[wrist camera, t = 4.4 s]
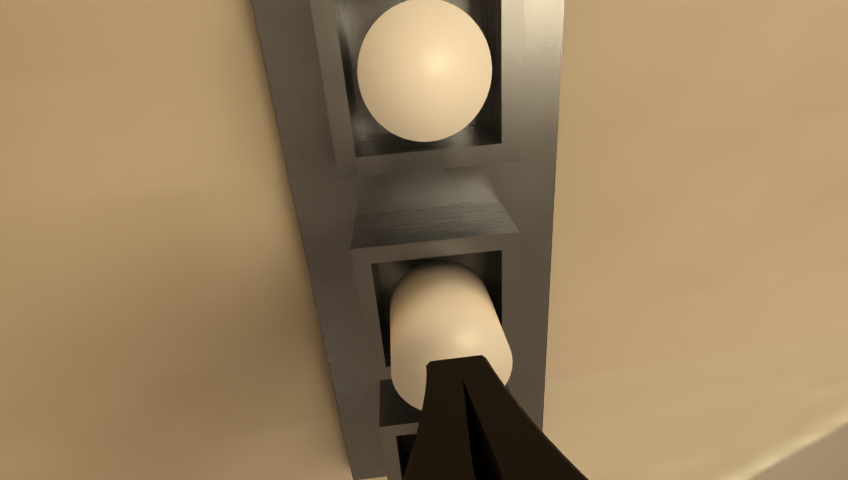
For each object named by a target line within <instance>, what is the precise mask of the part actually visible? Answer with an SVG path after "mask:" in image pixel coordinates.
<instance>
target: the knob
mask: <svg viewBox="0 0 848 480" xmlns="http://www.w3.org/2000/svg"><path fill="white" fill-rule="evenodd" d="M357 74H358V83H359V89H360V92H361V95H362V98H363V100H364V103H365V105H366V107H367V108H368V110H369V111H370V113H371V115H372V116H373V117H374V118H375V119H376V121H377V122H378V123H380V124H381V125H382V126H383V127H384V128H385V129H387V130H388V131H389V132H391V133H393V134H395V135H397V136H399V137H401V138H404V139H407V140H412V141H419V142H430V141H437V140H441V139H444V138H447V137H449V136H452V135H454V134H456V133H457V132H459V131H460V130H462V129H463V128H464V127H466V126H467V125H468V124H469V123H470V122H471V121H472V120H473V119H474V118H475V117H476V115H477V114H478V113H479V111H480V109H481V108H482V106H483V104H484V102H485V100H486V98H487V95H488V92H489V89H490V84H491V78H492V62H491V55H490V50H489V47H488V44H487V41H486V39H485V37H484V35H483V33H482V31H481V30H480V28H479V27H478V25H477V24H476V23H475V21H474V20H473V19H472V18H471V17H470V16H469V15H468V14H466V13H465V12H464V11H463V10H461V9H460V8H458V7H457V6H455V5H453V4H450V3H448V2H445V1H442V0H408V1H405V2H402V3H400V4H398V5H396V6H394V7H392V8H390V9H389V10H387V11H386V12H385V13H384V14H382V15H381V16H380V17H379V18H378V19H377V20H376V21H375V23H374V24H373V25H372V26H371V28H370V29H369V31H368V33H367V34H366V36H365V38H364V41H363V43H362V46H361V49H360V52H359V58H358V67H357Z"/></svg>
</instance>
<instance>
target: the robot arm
mask: <svg viewBox="0 0 848 480" xmlns="http://www.w3.org/2000/svg"><path fill="white" fill-rule="evenodd" d="M403 480H588V479H587V478H586V477H585V476H584V475H583V474H582V473H581V472H580V471H579V470H578V469H577V468H576V467H575V466H574V465H573V464H572V463H571V462H570V461H569V460H568V459H567V458H566V457H565V456H564V455H563V454H562V453H561V452H560V451H559V450H558V448H557V447H556V446H555V445H554V444H553V443H552V442H551V441H550V440H549V439H548V438H547V437H546V436H545V434H544V433H543V432H542V431H541V430H540V429H539V428H538V426H537V425H536V424H535V423H534V422H533V421H532V419H531V418H530V417H529V416H528V414H527V413H526V412H525V411H524V410H523V408H522V407H521V406H520V405H519V404H518V402H517V401H516V400H515V399H514V397H513V396H512V395H511V393H510V392H509V391H508V389H507V388H506V387H505V385H504V384H503V382H502V381H501V380H500V378H499V377H498V375H497V374H496V372H495V371H494V369H493V368H492V366H491V365H490V363H489V361H488V360H487V358H486V357H484V356H483V355H477V356H469V357H461V358H452V359H444V360H436V361H430V362H429V363H428V364H427V365H426V388H425V395H424V401H423V407H422V412H421V416H420V421H419V425H418V429H417V434H416V438H415V441H414V445H413V448H412V451H411V455H410V458H409V461H408V464H407V468H406V471H405V474H404V477H403Z"/></svg>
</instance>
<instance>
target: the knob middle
mask: <svg viewBox="0 0 848 480" xmlns="http://www.w3.org/2000/svg"><path fill="white" fill-rule="evenodd" d="M390 344H391V377H392V381H393V384H394V387H395V389H396V391H397V392H398V394H399V395H400V396H401V397H402V398H403V399H404V400H405V401H406V402H407V403H408V404H410V405H411V406H413V407H415V408H417V409H419V410H422V407H423V401H424V395H425V388H426V365H427V364H428V363H429V362H430V361H436V360H444V359H452V358H461V357H469V356H477V355H483V356H484V357H486V358H487V360H488V361H489V363H490V365H491V366H492V368H493V369H494V371H495V372H496V374H497V375H498V377H499V378H500V380H501V381H502V382H503V384H504V385H506V383H507V382H508V379H509V377H510V375H511V371H512V363H513V361H512V354H511V350H510V347H509V345H508V342H507V340H506V337H505V335H504V332H503V329H502V327H501V324H500V322H499V319H498V317H497V314H496V312H495V309H494V307H493V304H492V301H491V299H490V296H489V294H488V291H487V289H486V286H485V284H484V282H483V280H482V279H481V277H480V276H479V275H478V274H477V273H476V272H475V271H474V270H472V269H471V268H469V267H468V266H466V265H463V264H461V263H458V262H454V261H448V260H436V261H429V262H426V263H423V264H420V265H418V266H416V267H414V268H412V269H410V270H409V271H408V272H406V273H405V274H404V275H403V276H402V277H401V278H400V279H399V281H398V282H397V283H396V285H395V287H394V289H393V291H392V294H391V297H390Z"/></svg>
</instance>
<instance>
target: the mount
mask: <svg viewBox="0 0 848 480" xmlns="http://www.w3.org/2000/svg"><path fill="white" fill-rule="evenodd" d="M251 1H252V6H253V10H254V15H255V20H256V25H257V29H258V34H259V39H260V43H261V48H262V53H263V58H264V62H265V67H266V72H267V76H268V81H269V86H270V90H271V95H272V100H273V105H274V109H275V114H276V119H277V123H278V128H279V133H280V138H281V142H282V147H283V152H284V156H285V161H286V166H287V171H288V175H289V180H290V185H291V189H292V194H293V199H294V204H295V208H296V213H297V218H298V222H299V227H300V232H301V237H302V241H303V246H304V251H305V255H306V260H307V265H308V270H309V274H310V279H311V284H312V288H313V293H314V298H315V302H316V307H317V312H318V317H319V321H320V326H321V331H322V335H323V340H324V345H325V350H326V354H327V359H328V364H329V368H330V373H331V378H332V383H333V387H334V392H335V397H336V401H337V406H338V411H339V416H340V420H341V425H342V430H343V434H344V439H345V444H346V449H347V453H348V458H349V463H350V467H351V472H352V477H353V480H360V479H368V478H376V477H384V476H387V478H388V480H403V477H404V474H405V471H406V468H407V464H408V461H409V458H410V453H411V450H412V448H413V445H414V441H415V438H416V434H417V429H418V425H419V421H420V416H421V412H422V410H419V409H417V408H415V407H413V406H411V405H410V404H408V403H407V402H406V401H405V400H404V399H403V398H402V397H401V396H400V395H399V394H398V392H397V391H396V389H395V387H394V384H393V381H392V377H391V344H390V297H391V294H392V291H393V289H394V287H395V285H396V283H397V282H398V281H399V279H400V278H401V277H402V276H403V275H404V274H405V273H406V272H408V271H409V270H410V269H412V268H414V267H416V266H418V265H420V264H423V263H426V262H429V261H436V260H448V261H454V262H458V263H461V264H463V265H466V266H468V267H469V268H471V269H472V270H474V271H475V272H476V273H477V274H478V275H479V276H480V277H481V279H482V280H483V282H484V284H485V286H486V289H487V291H488V294H489V296H490V299H491V301H492V304H493V307H494V309H495V312H496V314H497V317H498V319H499V322H500V324H501V327H502V329H503V332H504V335H505V337H506V340H507V342H508V345H509V347H510V350H511V354H512V361H513V363H512V371H511V375H510V377H509V379H508V382H507V383H506V385H505V387H506V388H507V389H508V391H509V392H510V393H511V395H512V396H513V397H514V399H515V400H516V401H517V402H518V404H519V405H520V406H521V407H522V408H523V410H524V411H525V412H526V413H527V414H528V416H529V417H530V418H531V419H532V421H533V422H534V423H535V424H536V425H537V426H538V428H539V429H540V430H541V431H542V428H543V408H544V389H545V369H546V349H547V330H548V310H549V291H550V271H551V252H552V232H553V212H554V193H555V173H556V154H557V134H558V114H559V95H560V75H561V56H562V36H563V17H564V0H442V1H445V2H448V3H450V4H453V5H455V6H457V7H458V8H460V9H461V10H463V11H464V12H465V13H466V14H468V15H469V16H470V17H471V18H472V19H473V20H474V21H475V23H476V24H477V25H478V27H479V28H480V30H481V31H482V33H483V35H484V37H485V39H486V41H487V44H488V47H489V50H490V55H491V62H492V78H491V84H490V89H489V92H488V95H487V98H486V100H485V102H484V104H483V106H482V108H481V109H480V111H479V113H478V114H477V115H476V117H475V118H474V119H473V120H472V121H471V122H470V123H469V124H468V125H467V126H466V127H464V128H463V129H462V130H460V131H459V132H457V133H456V134H454V135H452V136H449V137H447V138H444V139H441V140H437V141H430V142H419V141H412V140H407V139H404V138H401V137H399V136H397V135H395V134H393V133H391V132H389V131H388V130H387V129H385V128H384V127H383V126H382V125H381V124H380V123H378V122H377V121H376V119H375V118H374V117H373V116H372V115H371V113H370V111H369V110H368V108H367V107H366V105H365V103H364V100H363V98H362V95H361V92H360V89H359V83H358V74H357V67H358V58H359V52H360V49H361V46H362V43H363V41H364V38H365V36H366V34H367V33H368V31H369V29H370V28H371V26H372V25H373V24H374V23H375V21H376V20H377V19H378V18H379V17H380V16H381V15H382V14H384V13H385V12H386V11H387V10H389V9H390V8H392V7H394V6H396V5H398V4H400V3H402V2H405V1H408V0H251Z"/></svg>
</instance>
